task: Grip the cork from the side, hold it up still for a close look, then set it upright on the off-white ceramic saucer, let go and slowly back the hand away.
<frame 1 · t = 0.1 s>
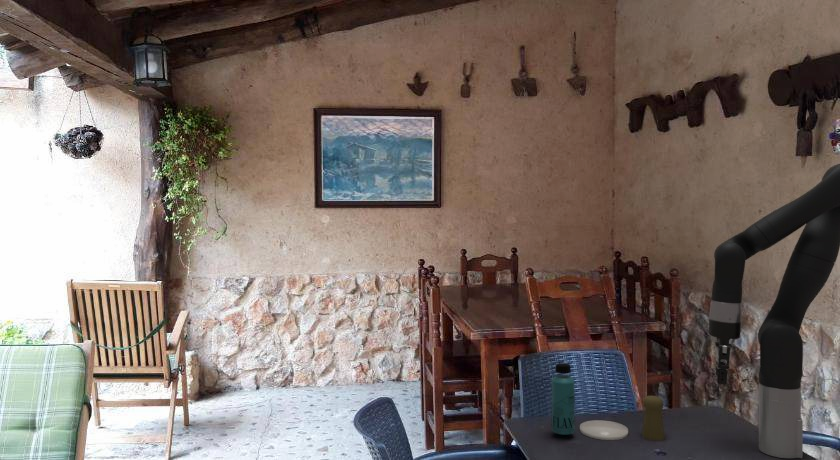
hand: (720, 379, 160), 17 cm above the table, tool pointing down, fingers open, 8 cm apart
cork: (653, 437, 167), on the table
beverage bottle: (563, 436, 168), on the table
saucer: (603, 431, 171), on the table
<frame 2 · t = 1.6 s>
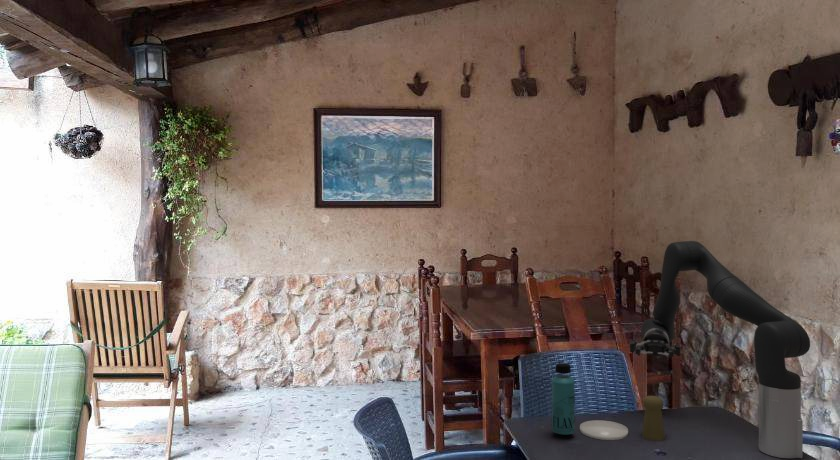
hand: (654, 353, 177), 20 cm above the table, tool horizontal, fingers open, 8 cm apart
nothing on the table moved.
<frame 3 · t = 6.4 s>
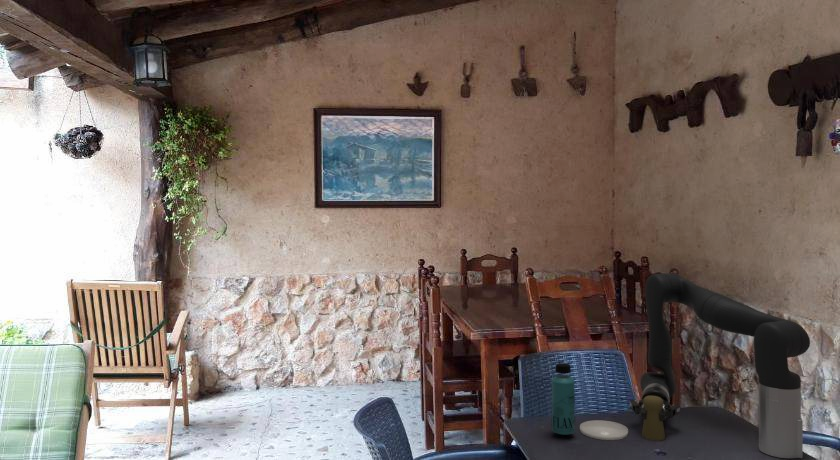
hand: (652, 416, 165), 6 cm above the table, tool horizontal, fingers closed on cork, 3 cm apart
cork: (653, 437, 167), on the table, touching gripper
everything else where it was.
when the fingers open (7 cm above the table, at t = 14.1 s): cork stays where it is, resting on saucer.
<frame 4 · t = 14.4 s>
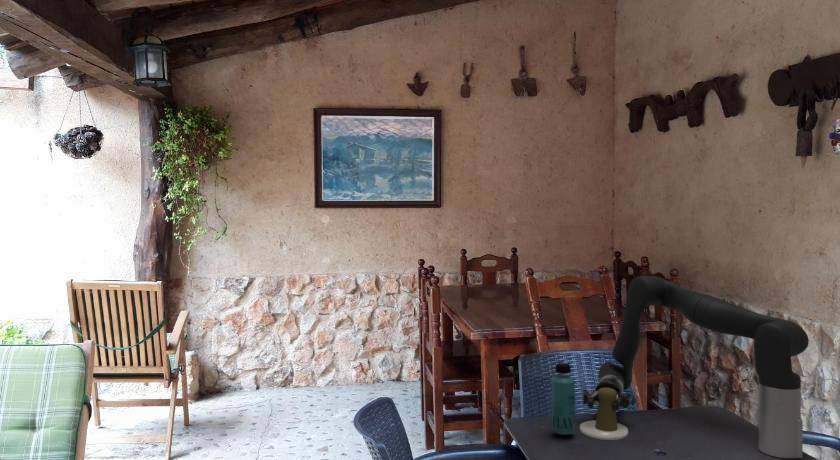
hand: (602, 406, 170), 8 cm above the table, tool horizontal, fingers open, 6 cm apart
cork: (606, 428, 171), point 1 cm above the table, touching gripper, saucer
everything else where it was.
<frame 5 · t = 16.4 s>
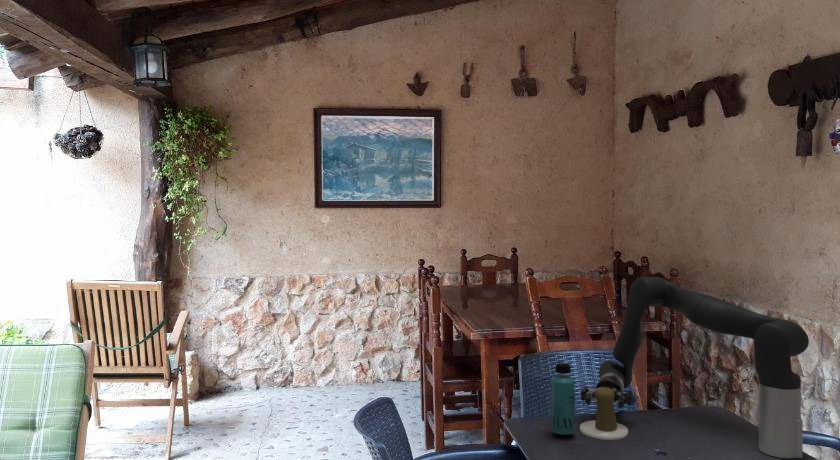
hand: (603, 403, 172), 8 cm above the table, tool horizontal, fingers open, 8 cm apart
cork: (606, 426, 171), point 1 cm above the table, touching saucer
everything else where it was.
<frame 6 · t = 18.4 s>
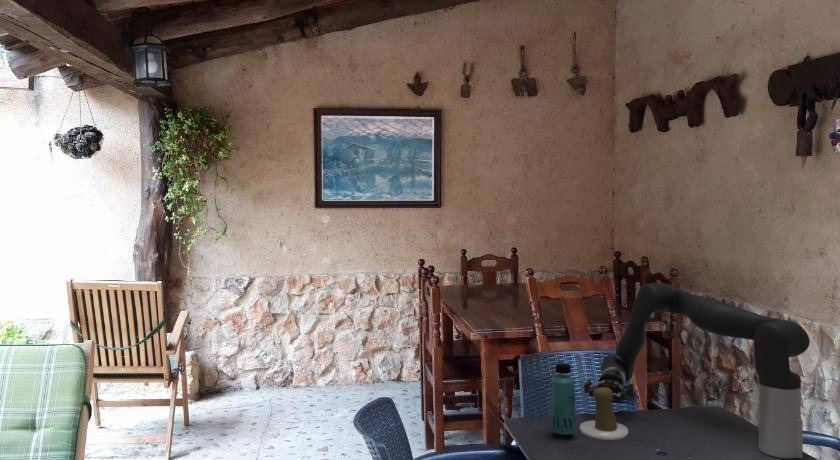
hand: (606, 395, 179), 8 cm above the table, tool horizontal, fingers open, 8 cm apart
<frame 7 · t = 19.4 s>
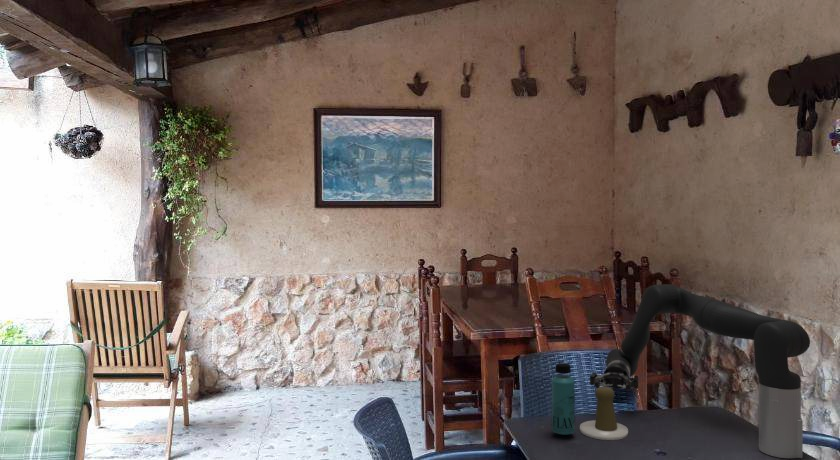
hand: (611, 386, 182), 9 cm above the table, tool horizontal, fingers open, 8 cm apart
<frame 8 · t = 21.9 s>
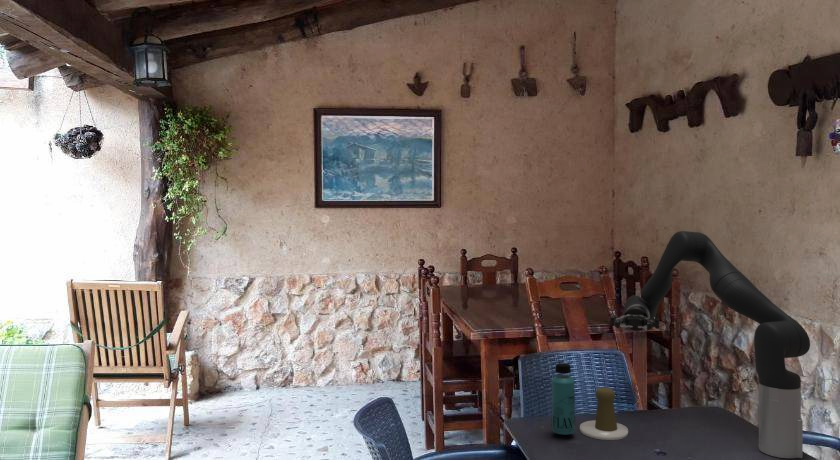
hand: (633, 325, 180), 28 cm above the table, tool horizontal, fingers open, 8 cm apart
at the end: cork inside the target area on the saucer (0.8 cm from its centre), point 0.9 cm above the saucer's base; cork tilted 1°; the gripper is holding nothing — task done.
